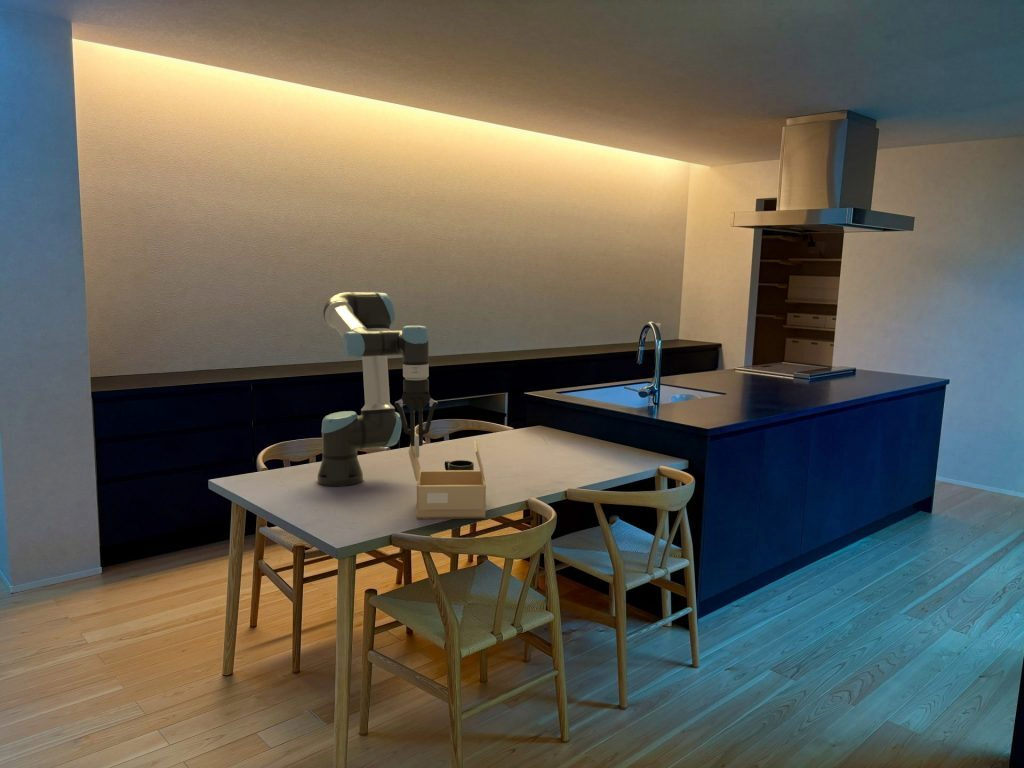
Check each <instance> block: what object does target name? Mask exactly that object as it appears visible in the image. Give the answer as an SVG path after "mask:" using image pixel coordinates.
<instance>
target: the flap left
mask: <svg viewBox="0 0 1024 768" xmlns="http://www.w3.org/2000/svg"><path fill="white" fill-rule="evenodd" d="M408 455H409V459H410V463H411V467H412V471H413V474H414V479H415V481H416V482H417V481H418V479H419V473H420V471H421V465H420V461H419V458H415V446H411V443H410V444H409V448H408Z"/></svg>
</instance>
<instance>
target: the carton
mask: <svg viewBox="0 0 1024 768" xmlns="http://www.w3.org/2000/svg"><path fill="white" fill-rule="evenodd" d="M486 484H487V483H486V479H485V480H484V481H483V479H482V475H481V472H480V469H478V470H477V469H474V470H444V469H443V470H441V469H440V470H431V469H430V470H420V473H419V479H418V481H416V520H440V519H441V520H443V519H445V520H448V519H450V520H451V519H454V520H455V519H457V520H458V519H460V520H462V519H486V502H487V501H486V499H487V498H486V497H487V495H486V493H487V491H486V486H487V485H486Z"/></svg>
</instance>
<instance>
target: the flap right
mask: <svg viewBox="0 0 1024 768" xmlns="http://www.w3.org/2000/svg"><path fill="white" fill-rule="evenodd" d="M473 446H474V452H475V453H474V454H475V456H476V460H477V463H478V468H479V470H480V472H481V475H482V479H483V481H484V480H485V481H486V478H485V473H484V467H483V462H482V458H481V455H480V452H479V450H480V449H479V447H478V443H477V440H476V439H474V440H473Z"/></svg>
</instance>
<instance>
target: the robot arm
mask: <svg viewBox="0 0 1024 768" xmlns="http://www.w3.org/2000/svg"><path fill="white" fill-rule="evenodd" d="M322 310H323V311H322V315H323V318H324V321H325V322H326V324H327V325H328V326H329V327H330V328H332V329H335V330H336V331H337V333H338V334H339V336H340V337H341V338H342V350H343V353H344V355H345V356H346V357H354V358H360V357H361V358H362V359H361V360H362V374H363V377H362V378H363V390H364V391H363V392H364V405H363V406H362V408H361V409H360V415H359V414H357V412H356V411H353V410H347V411H346V410H344V411H338V412H333V413H329V414H328V415H325V416H324V417H323V419H322V422H321V444H322V445H321V447H322V453H321V454H322V458H321V459H322V460H321V462H320V466H319V468H318V472H317V483H318V484H320V485H323V486H328V487H345V486H351V485H357V484H359V483H362V482H363V481H364V475H363V474H364V473H363V469H362V466H361V464H360V462H359V461H360V460H359V458H358V450H361V449H362V450H364V449H375V448H377V449H378V448H388V447H393V446H395V445H397V444H398V442H399V440H400V437H401V433H402V428H403V433H404V434H406V435H409V436H410V444H411V446H415V458H418V459H420V447H422V446H423V445H424V435H425V434H429V432H430V428H431V424H432V420H433V416H434V413H435V412H434V411H435V409H436V408H437V406H438V405H439V403H438V401H437V400H434V399H433V398H432V397H431V394H430V381H429V376H430V374H429V373H430V371H429V365H430V364H429V340H430V338H429V330H428V327H427V326H425V325H416V324H415V325H414V324H413V325H404V326H403V327H402V329H395V330H391V329H390V328H391V326H393V325H394V323H395V319H396V318H395V315H396V314H395V313H396V312H395V307H394V304H393V300H392V298H391V297H390V296H389V294H387V293H385V292H377V291H361V292H360V291H357V292H355V291H353V292H351V291H348V292H347V291H344V292H340V293H337V294H335V295H332V297H330V298H329V299H328V300H327V301H326V302H325V304H324V306H323V309H322ZM388 356H390V357H392V356H402V376H403V378H404V379H403V380H402V385H403V386H402V391H403V392H402V395H401V398H400V399H399V400H397V401H395V402H394V405H392V403H391V402H390V401H391V399H390V398H391V397H390V385H389V384H390V382H389V381H390V380H389V369H388V368H389V367H388ZM428 403H429V404H428ZM404 404H405V406H406V407H407V408H408V409H409V423H410V425H408V422H407V418H406V414H405V411H404V408H403V407H404ZM427 405H428V406H429V407H430V408H429V412H428V416H427V419H426V423H425V428H424V412H423V411H424V409H425V408H426V407H427ZM395 409H397V411H398V412H396V410H395ZM416 410H417V413H418V414H417V415H418V433H416V426H415V425H416V423H415V420H416V419H415V411H416ZM409 426H410V428H409Z"/></svg>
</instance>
